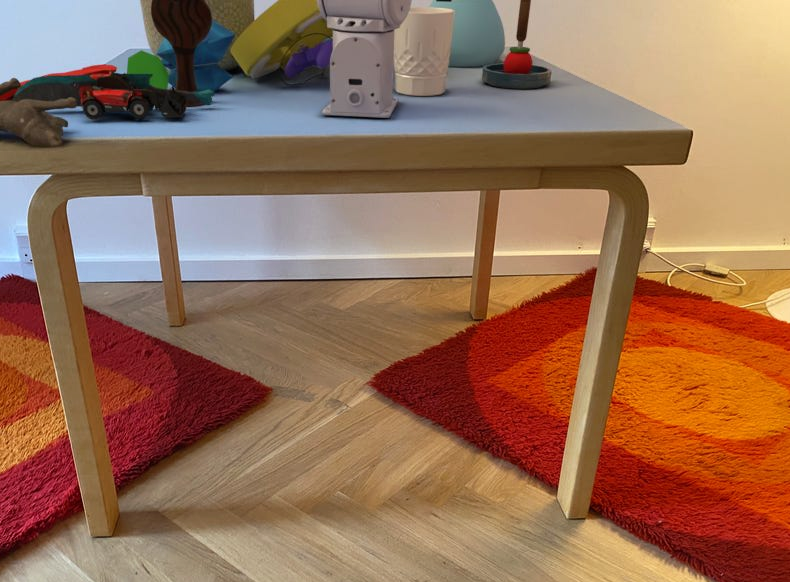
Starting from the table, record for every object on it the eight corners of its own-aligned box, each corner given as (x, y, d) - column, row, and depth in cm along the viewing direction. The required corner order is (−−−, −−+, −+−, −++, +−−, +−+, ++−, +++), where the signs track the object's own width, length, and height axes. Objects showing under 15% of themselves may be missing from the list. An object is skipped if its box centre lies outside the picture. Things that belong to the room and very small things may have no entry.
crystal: (155, 29, 95) (238, 8, 92) (177, 95, 99) (257, 77, 97) (135, 36, 88) (224, 14, 86) (159, 106, 93) (244, 87, 90)
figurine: (224, 99, 90) (210, -64, 81) (213, 107, 86) (198, -64, 77) (168, 97, 91) (148, -65, 81) (155, 105, 87) (132, -65, 77)
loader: (187, 110, 83) (182, 68, 81) (182, 119, 79) (177, 75, 77) (84, 111, 83) (76, 69, 80) (73, 121, 79) (65, 76, 76)
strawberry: (530, 83, 99) (542, -4, 93) (502, 82, 100) (511, -4, 94) (529, 78, 102) (540, -6, 97) (501, 77, 103) (511, -6, 97)
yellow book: (262, 50, 112) (281, 78, 113) (213, 56, 94) (237, 89, 95) (343, -20, 105) (362, 10, 107) (307, -28, 87) (331, 8, 88)
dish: (551, 91, 96) (553, 75, 95) (481, 88, 98) (482, 73, 97) (547, 78, 105) (549, 64, 104) (482, 76, 106) (483, 62, 105)
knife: (211, 74, 82) (216, 109, 86) (211, 68, 82) (216, 103, 86) (-8, 78, 79) (8, 114, 83) (-7, 72, 79) (9, 108, 84)
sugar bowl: (504, 69, 111) (513, -13, 105) (410, 66, 113) (413, -15, 107) (502, 55, 124) (510, -19, 118) (417, 53, 126) (420, -21, 120)
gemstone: (157, 107, 91) (138, 121, 95) (177, 73, 93) (157, 87, 97) (117, 75, 87) (99, 91, 92) (138, 40, 89) (120, 56, 94)
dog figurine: (6, 118, 78) (-36, 160, 73) (-18, 71, 73) (-64, 112, 69) (100, 137, 75) (62, 181, 71) (81, 88, 70) (39, 133, 66)
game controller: (258, 54, 96) (307, 32, 102) (281, 112, 100) (327, 88, 105) (303, 37, 89) (353, 14, 94) (327, 101, 93) (374, 75, 98)
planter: (209, 82, 99) (197, -43, 91) (124, 70, 107) (107, -46, 99) (280, 65, 112) (275, -46, 104) (200, 56, 119) (190, -48, 111)
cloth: (146, 57, 102) (150, 74, 103) (58, 70, 104) (63, 86, 105) (69, 78, 79) (75, 99, 80) (-42, 94, 81) (-34, 114, 82)
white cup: (401, 98, 91) (405, 13, 86) (383, 87, 98) (385, 7, 93) (457, 95, 93) (464, 12, 88) (436, 85, 100) (441, 6, 94)
